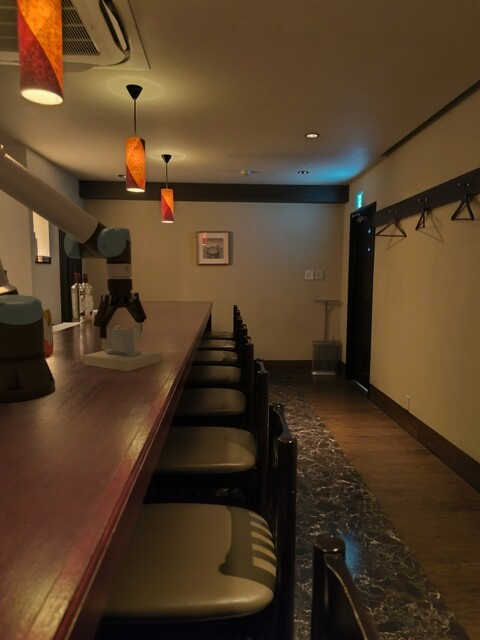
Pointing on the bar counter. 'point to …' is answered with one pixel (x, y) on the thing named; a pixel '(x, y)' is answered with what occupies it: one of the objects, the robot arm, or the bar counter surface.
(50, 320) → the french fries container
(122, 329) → the servo
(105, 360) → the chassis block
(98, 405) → the bar counter surface
